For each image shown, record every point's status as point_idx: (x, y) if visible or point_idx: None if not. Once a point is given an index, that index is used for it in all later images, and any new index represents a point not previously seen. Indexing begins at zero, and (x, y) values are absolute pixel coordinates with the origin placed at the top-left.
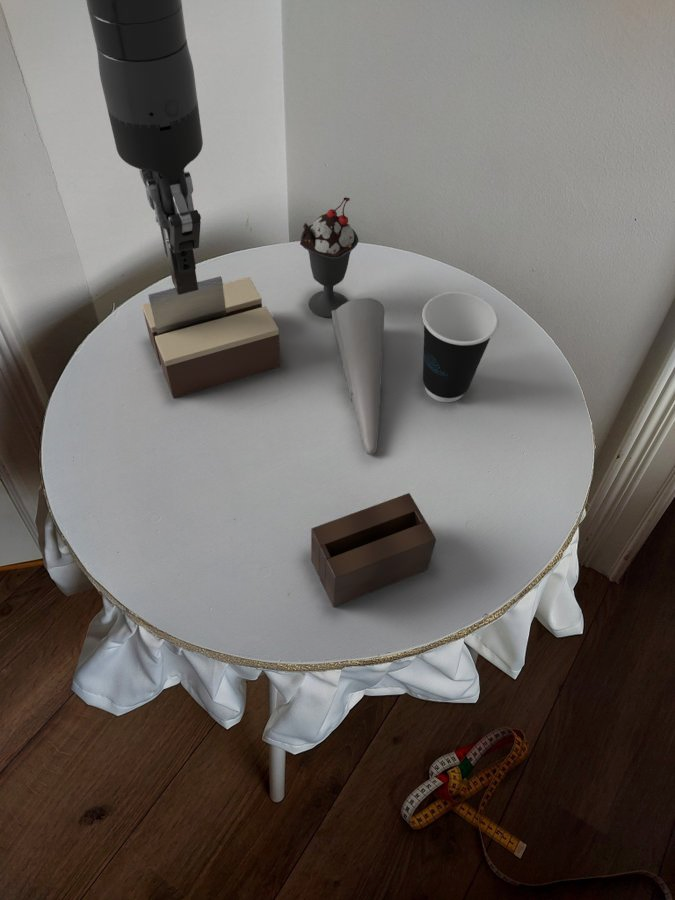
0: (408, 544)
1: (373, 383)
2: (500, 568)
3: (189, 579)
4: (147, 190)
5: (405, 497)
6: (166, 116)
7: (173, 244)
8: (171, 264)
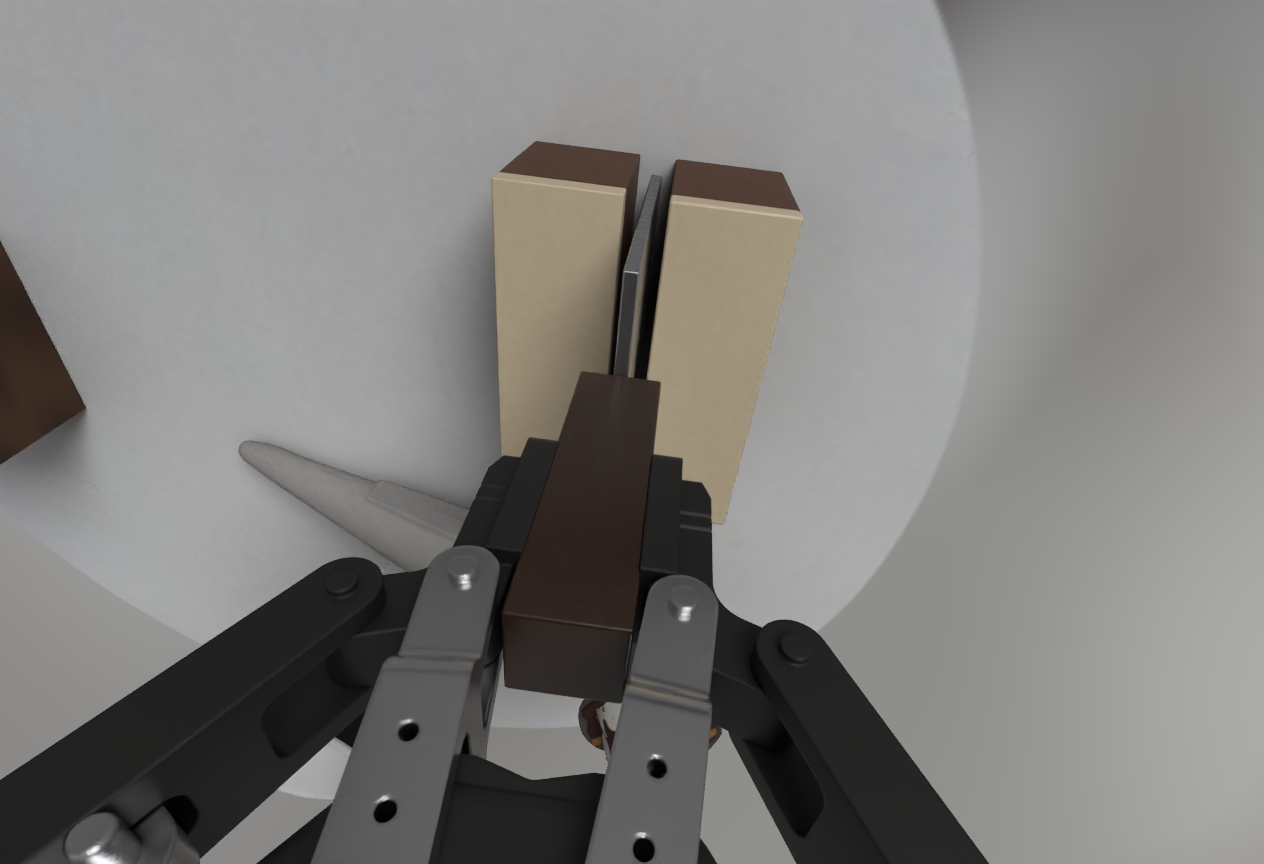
0: None
1: (361, 540)
2: (7, 478)
3: None
4: (619, 837)
5: None
6: None
7: (249, 628)
8: (586, 451)
